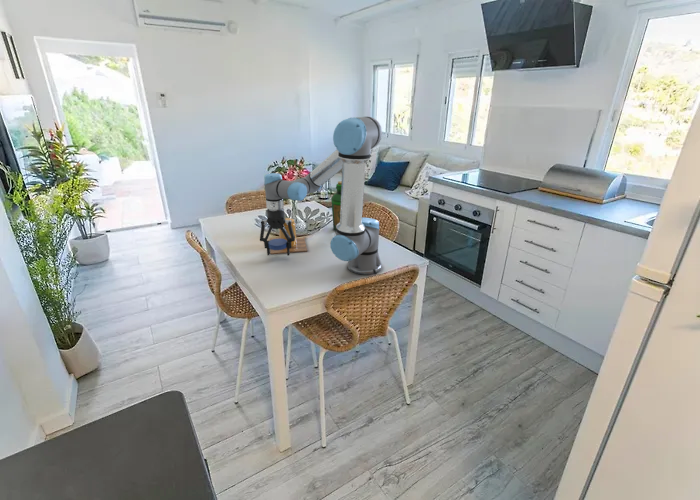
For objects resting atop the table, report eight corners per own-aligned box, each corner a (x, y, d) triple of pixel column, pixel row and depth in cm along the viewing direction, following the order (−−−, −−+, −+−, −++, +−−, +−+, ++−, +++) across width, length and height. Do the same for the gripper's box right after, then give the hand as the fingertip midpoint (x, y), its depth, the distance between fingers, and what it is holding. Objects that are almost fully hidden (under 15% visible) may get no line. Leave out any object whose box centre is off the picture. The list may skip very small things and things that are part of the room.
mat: (307, 251, 174) (307, 250, 174) (270, 254, 171) (270, 253, 171) (304, 237, 192) (304, 236, 192) (270, 239, 189) (270, 238, 188)
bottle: (339, 234, 197) (339, 185, 185) (327, 229, 204) (327, 181, 192) (353, 229, 203) (354, 182, 192) (341, 225, 210) (341, 179, 199)
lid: (272, 242, 168) (272, 237, 167) (290, 243, 167) (289, 239, 166) (265, 249, 160) (265, 244, 159) (284, 250, 159) (283, 246, 158)
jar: (297, 246, 178) (295, 222, 173) (280, 247, 177) (278, 223, 171) (295, 240, 186) (294, 217, 181) (279, 241, 184) (278, 218, 179)
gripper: (249, 211, 152) (254, 257, 162) (298, 211, 153) (300, 257, 162) (253, 205, 159) (257, 251, 168) (300, 206, 160) (302, 251, 169)
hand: (278, 254), depth 165 cm, fingers closed on lid, 9 cm apart
